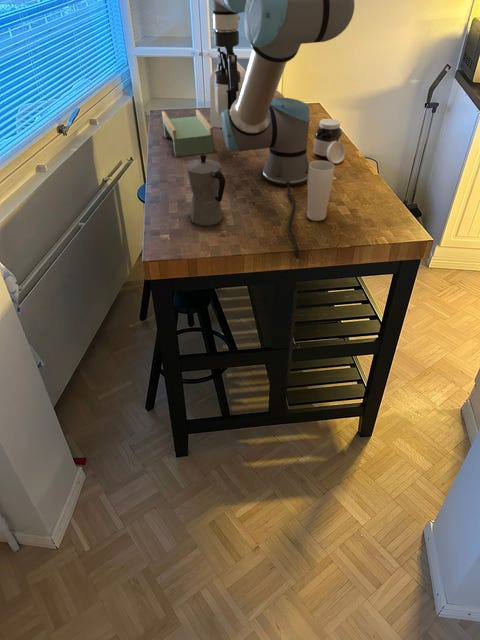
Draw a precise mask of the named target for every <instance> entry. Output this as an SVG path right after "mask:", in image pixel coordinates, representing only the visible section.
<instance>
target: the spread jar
mask: <svg viewBox="0 0 480 640" xmlns="http://www.w3.org/2000/svg"><path fill="white" fill-rule="evenodd" d="M340 126H341V121H340V120H338V119H335V118H322V119H321V120H319V125H318V128H317V130H316V132H315V135H314V138H313V139H314V140H313V154H314V156H315V157H316V158H318V159H320V160H323V161H328V162H331V163H333V164H339V163H342V161H343V160H344V159H345V156H346V148H345V145H344V144H343V143H342V138H343V131H342V129H341V127H340Z"/></svg>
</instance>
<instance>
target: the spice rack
mask: <svg viewBox="0 0 480 640" xmlns="http://www.w3.org/2000/svg"><path fill="white" fill-rule="evenodd" d="M161 115H162V116H161V117H162V124H163V134H164V138H165V139H172V144H173V145H172V146H173V153H174V154H173V155H174V157H175V158H178V157H186V156H194V155H204V154H210V153H214V152H215V145H214V127H212V126H211V125H210V122H209V121H208V120H207V118H206V117H205V116H204V114H203V113H202V112H201V111H200V110H199V109H195V115H194V116H184V117H174V118H170V117H169V116H168V114H167V113H166V111H165V110H162V111H161Z"/></svg>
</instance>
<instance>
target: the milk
mask: <svg viewBox="0 0 480 640" xmlns="http://www.w3.org/2000/svg"><path fill="white" fill-rule="evenodd" d="M216 66H217V67H216V68H215V69H214V70H213V71H212V72H211V74H210V78H209V97H210V98H209V108H210V109H209V115H210V116H209V117H210V118H209V120H210V122H209V124H210V125H211V126H212V127H213V128H217V129H219V128H220V129H222V122H221V115H218V114H217V112H216V111H215V87H214V81H215V72H216V71H217V68H218V64H217V65H216ZM237 71H239V72H240V82H241V89H242V86H243V82H244V78H245V74H246V70H245V68H244V67H243V66H242V65H241V64H240V63H239V61H237Z"/></svg>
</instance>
